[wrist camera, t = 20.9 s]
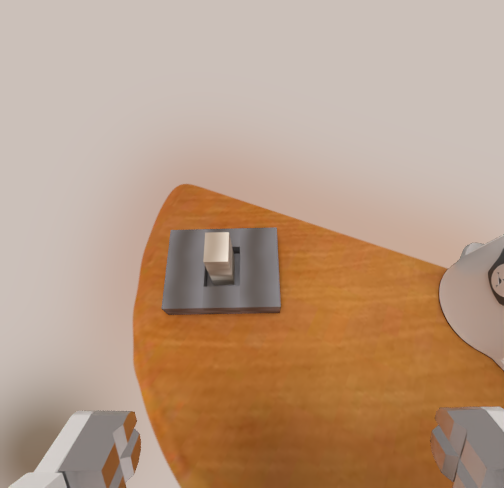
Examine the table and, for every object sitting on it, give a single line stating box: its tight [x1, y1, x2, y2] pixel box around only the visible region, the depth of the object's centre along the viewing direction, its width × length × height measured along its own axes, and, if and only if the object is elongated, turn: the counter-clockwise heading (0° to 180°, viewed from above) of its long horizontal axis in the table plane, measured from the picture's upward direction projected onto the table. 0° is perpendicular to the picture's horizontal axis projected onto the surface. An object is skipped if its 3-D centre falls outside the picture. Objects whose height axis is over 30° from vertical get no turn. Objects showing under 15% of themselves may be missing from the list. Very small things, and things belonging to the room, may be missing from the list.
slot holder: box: [162, 228, 281, 315], centre depth 45 cm, size 16×12×4 cm
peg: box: [203, 232, 235, 285], centre depth 42 cm, size 3×4×9 cm
